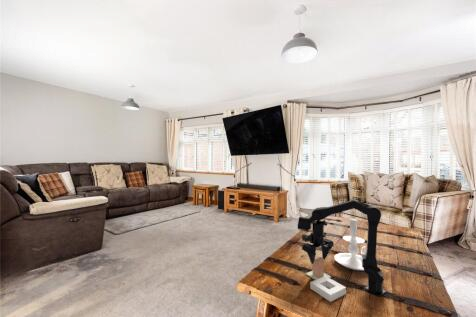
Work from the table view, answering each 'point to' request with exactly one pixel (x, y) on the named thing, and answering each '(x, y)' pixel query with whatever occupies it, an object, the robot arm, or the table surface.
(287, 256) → the table surface
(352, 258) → the candlestick
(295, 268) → the table surface
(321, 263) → the plug
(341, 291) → the white square frame
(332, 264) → the table surface
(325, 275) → the pad
